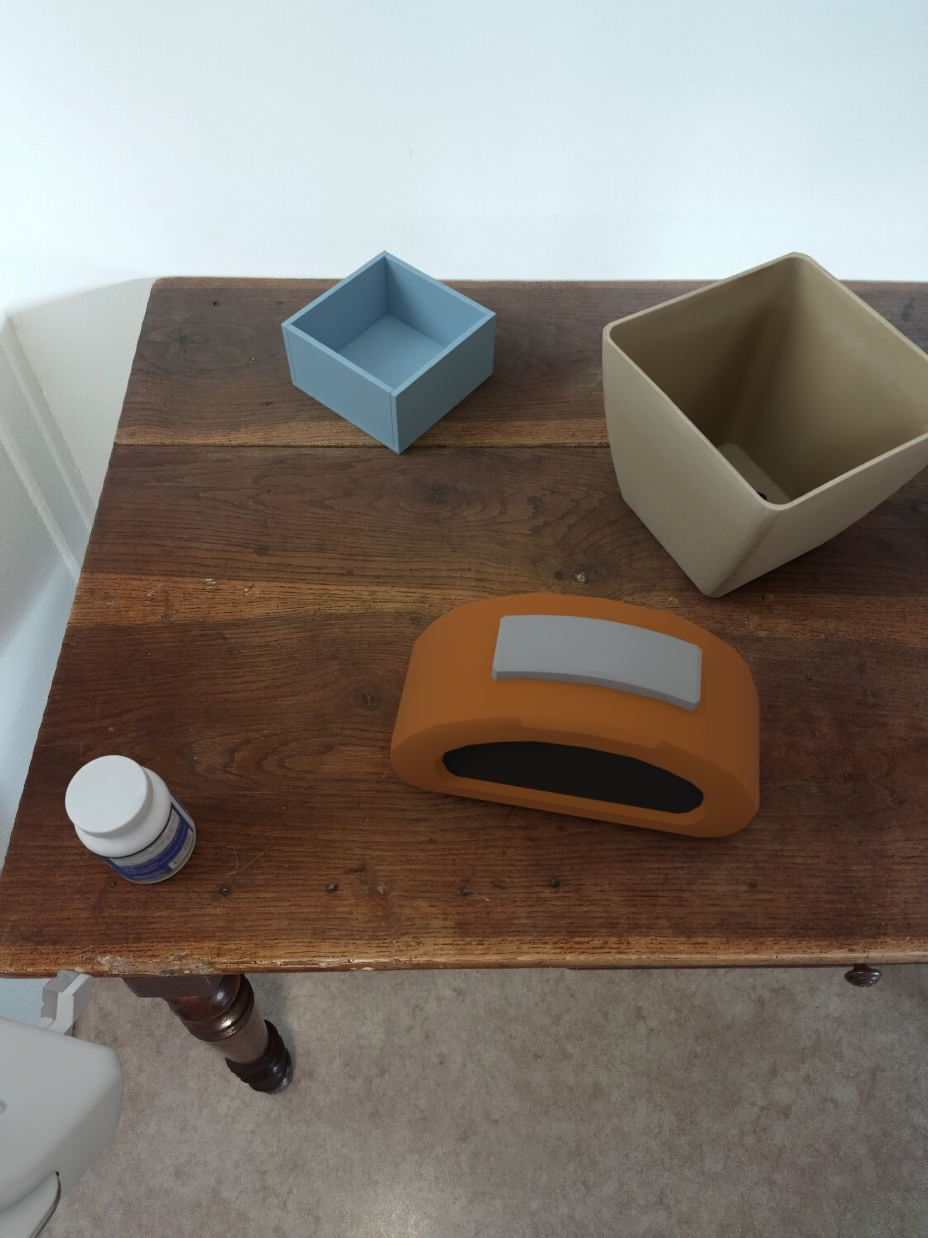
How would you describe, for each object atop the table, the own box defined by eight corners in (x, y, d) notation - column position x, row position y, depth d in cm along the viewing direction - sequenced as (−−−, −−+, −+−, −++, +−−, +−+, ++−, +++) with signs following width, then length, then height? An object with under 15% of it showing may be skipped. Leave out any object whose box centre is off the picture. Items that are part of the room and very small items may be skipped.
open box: (292, 384, 82) (280, 323, 76) (388, 311, 87) (384, 249, 81) (399, 454, 78) (395, 396, 72) (492, 373, 83) (496, 313, 77)
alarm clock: (391, 793, 62) (376, 683, 47) (417, 680, 66) (410, 549, 52) (729, 851, 60) (819, 756, 46) (731, 731, 65) (813, 610, 50)
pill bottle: (103, 821, 60) (47, 766, 52) (186, 790, 61) (144, 731, 53) (121, 900, 57) (65, 856, 49) (207, 866, 59) (167, 817, 50)
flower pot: (738, 405, 82) (802, 244, 67) (885, 551, 73) (993, 404, 59) (567, 483, 76) (596, 327, 62) (703, 650, 68) (773, 515, 54)
